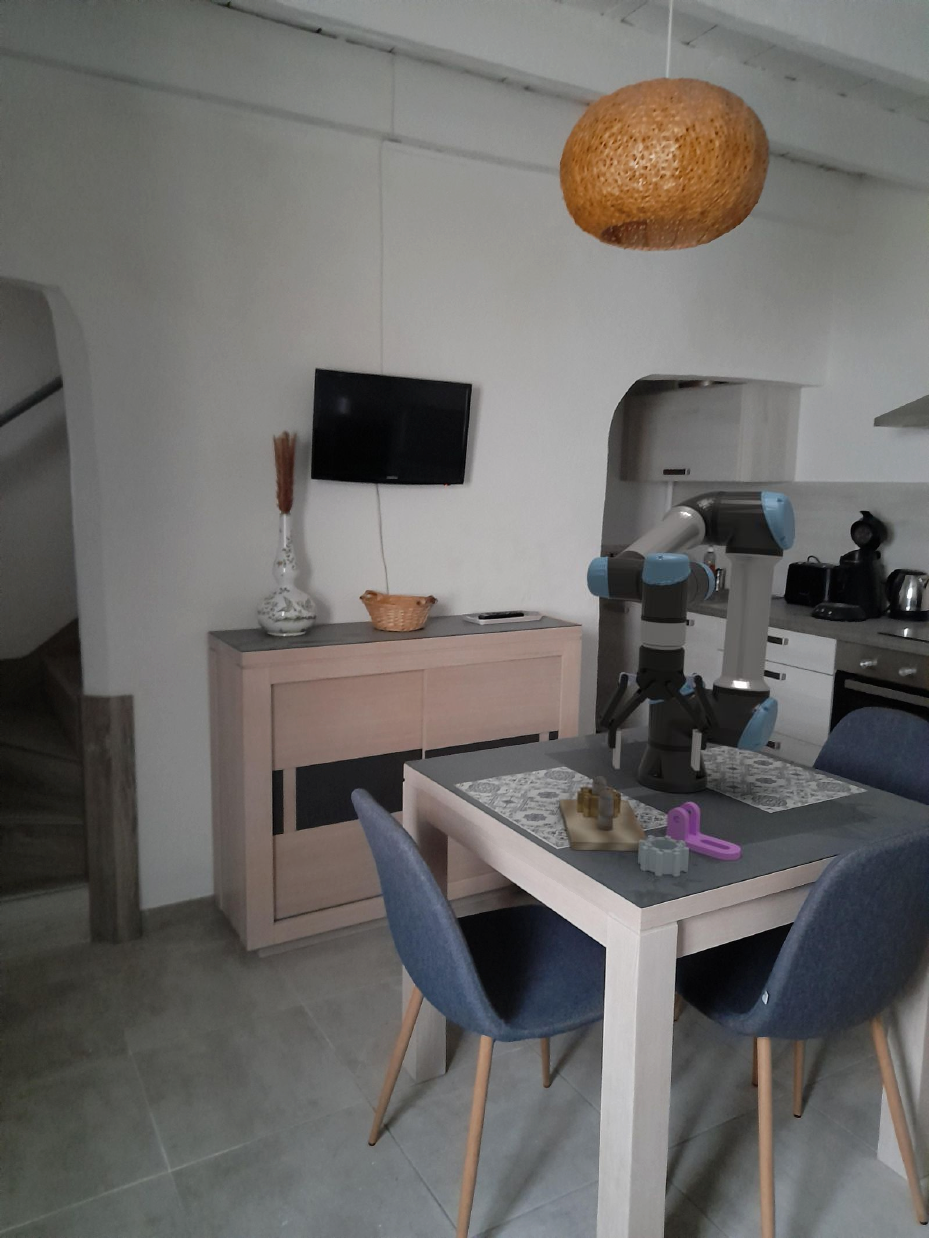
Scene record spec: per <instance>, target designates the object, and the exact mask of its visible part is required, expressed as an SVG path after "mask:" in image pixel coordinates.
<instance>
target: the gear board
mask: <svg viewBox="0 0 929 1238" xmlns="http://www.w3.org/2000/svg"><path fill="white" fill-rule="evenodd" d="M591 785H592V786H591V787H586V786H582V787H580V790H578V791H577V794H576V795H577V798H576V799H572V798H571V799H570V798H569V799H568V798H566V799H565V798H563V799H562V798H561V799H560V798H559V801H558V802H559V803H558V807H559V810H560V815H561V817H562V818H561V819H562V822H563V823H564V828H565V831H566V835H567V838H568V841H569V845H570V848H571V850H572V851H574V850H575V851H622V852H623V851H624V852H625V851H627V852H629V851H630V852H638V851H639V840H640V839H641V840H647V835H646V834H645V831H644V829H643V828H642V825H641V823H640V822H639V820H638V818H637V816H636V814H635V812H634V809H633V808H632V805H631V804H630V802H629V800H625V799H624V800H623V799H622V793H621V792H620V791H615V788H614V787H610V786H609V787H608V783H607V779H606V778H605V777H604V776H602V775H598V776H596V777H594V778H593V780H592V784H591Z"/></svg>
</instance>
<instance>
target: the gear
mask: <svg viewBox="0 0 929 1238" xmlns="http://www.w3.org/2000/svg"><path fill="white" fill-rule="evenodd" d="M646 837H647V840H641V839H640V840H639V851H637V853H638V854H637V855H638V857H637V864H638V865H639V864H640V870H641V871H642V872H646V871H649V872H652V873H654V876H656V877H662V876H663V875H671V876H673V877H675V878H676V877H681V872H686V873H687V872H688V871H689V858H690V857H689V855H690V853H689V852H690V850H689V847H686V842H685V841H683V840H680V841H677V840H674V839H671V836H666V834H665V835H664V836H663V837H661V836H654V835H646Z"/></svg>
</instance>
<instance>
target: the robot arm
mask: <svg viewBox="0 0 929 1238" xmlns="http://www.w3.org/2000/svg"><path fill="white" fill-rule="evenodd" d="M795 519H796V518H795V513H794V508H793V505H792V503H791V500H790V498H789V497H788V496H787V495H786V494H784V493H781V492H773V491H767V490H765V491H726V490H725V491H723V490H713V491H708V492H703V493H700V494H697V495H695V496H692V497H689V498H687V499H686V500H683V501H682V502H679V503H678V504H676V505H675V506H673V507H671V508H670V509H669V510H668V511H667V512H665V514H664V515H663V517H662V520H661V522H660V523H658V524H657V525H656V526H654V527H652V529H650V530H649V531H648V532H647V533H645V534H644V535H642V536H641V537H640V538H639V539H638V540H635V542H634V543H632V544H631V545H629V546H628V547H627V548H626V549H624V550H623V551H622V552H620V553H619V554H618V555H616V556H615V557H610V556H605V557H603V556H602V557H601V556H599V557H595V558H593V559H592V560H591V562H590V563H589V565H588V569H587V572H586V583H587V584H586V585H587V589H588V590H589V592H590V594H591V595H593V596H595V597H597V598H598V597H600V598H607V599H608V600H611V599H612V600H613V599H614V600H623V601H624V600H625V601H634V602H635V601H636V602H637V601H638V602H641V612H640V613H641V614H640V630H639V642H640V643H641V645H640V646H639V649H638V650H639V651H638V662H637V663H638V666H637V667H638V668H637V672H636V673H635V674H632V673H626V672H625V671H624V670H621V671H620V672H619V674H618V679H617V684H616V685H615V687H614V688H613V690H612V693H611V695H610V696H609V698H608V700H607V701H606V704H605V705H604V707H603V709H602V710H601V713H600V714H599V716H598V718H597V723H598V724H599V726H600V727H602V728H606V729H607V742H606V743H607V746H608V748H609V749H612V764H611V765H612V766H613V768H614V769H615V770H620V769H621V767H620V764H621V747H622V745H621V744H622V742H621V741H622V731H621V729H620V726H622V724H623V723H624V722H625V721H626V720H627V719H628V718H629V717H630V716H631V715H632V714H633V713H634V711H635V710H636V709H637V708H638V707H639V706H640V705H641V704H642V703H644V702H645V701H646V700H647V699H648V700H649V701H648V725H647V727H648V728H647V746H646V749H645V751H644V754H643V756H642V759H641V761H640V764H639V767H638V770H637V771H638V772H637V780H638V782H639V783H640V784H642V785H643V786H645V787H647V788H650V789H653V790H656V791H661V792H669V793H675V794H676V793H679V794H681V793H682V794H686V793H695V792H699V791H703V790H705V789H706V788H707V786H708V780H709V779H708V776H709V775H708V772H707V771H708V770H707V769H706V763H705V760H704V757H703V754H702V753H703V752H702V751H706V749H707V744H711V745H717V746H722V747H728V748H733V749H737V750H738V751H743V750H744V751H753V752H757V751H761V750H762V749H764V748H765V747H766V746H767V745H768V743H769V741H770V739H771V737H772V735H773V732H774V729H775V726H776V723H777V717H778V712H779V711H778V710H779V708H778V704H779V703H778V702H779V701H778V700H777V699H776V698H775V697H773V696H771V688H770V686H769V684H768V683H767V682H766V681H765V679H764V678H765V666H766V659H767V657H766V655H767V646H768V636H769V625H770V615H771V607H772V606H771V605H772V603H771V602H772V597H773V596H772V594H773V585H774V583H773V582H774V576H775V575H774V573H775V566H776V565H777V564H778V563H779V562H780V561H782V560H783V558H784V551H788V550H790V549H792V548H793V546H794V544H795V543H794V542H795V541H794V539H796V538H795V535H796V520H795ZM698 546H718V547H725V550H724V551H725V552H724V553H725V554H724V555H725V557H726V558H727V559H728V560H729V561H730V563H731V567H730V578H729V590H728V598H727V600H728V601H727V609H726V610H727V611H726V619H725V620H726V622H725V630H724V632H725V633H724V643H723V655H722V665H721V666H722V667H721V674H720V676H719V677H718V678H716V679H715V680H714V681H713V683H712V688H711V689H710V688H707V685H706V683H705V680H703V676H701V675H700V674H699V673H697V672H694V673H692V674H686V675H685V674H684V673H685V672H684V671H685V670H684V669H685V652H686V649H684V647H683V646H685V645H686V640H687V639H686V636H687V635H686V634H687V620H688V619H687V616H688V606H695V605H697V604H699V605H700V603H702V602H704V601H706V600H707V599H708V598H709V597H711V595H712V594H713V592H714V590H715V586H716V579H715V578H716V577H715V575H714V573H713V570H712V569H711V568H710V567H709V566H708V565H707V564H704V563H703V562H700V561H691V560H690V557H689V556H688V555H686V554H684V552H685V551H688V550H689V551H690V550H693V549H695V548H697V547H698ZM634 682H635V683H636V684H637V686H638V687H639V688H637V690H636V691H634V692H633V695H632V696H631V697H630V698H629V699H628V700H627V701H626V702H625V703H624V704H623V706H622V707H621V708H620V709H619V710H618V711H617V712H616V713H615V714H614V712H615V711H616V709H617V707H618V705H619V704H620V701H621V700H622V698H623V696H624V695H625V693H626V691H627V688H628V687H631V686H632V683H634ZM613 714H614V715H613ZM611 717H612V718H611Z"/></svg>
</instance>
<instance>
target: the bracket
mask: <svg viewBox="0 0 929 1238" xmlns="http://www.w3.org/2000/svg"><path fill="white" fill-rule="evenodd" d="M689 812H690V813H689ZM700 827H701V809H700V807H699V806H698V805H697V804H696V803H695V802H693V801H687V802H684V803H683V804H681V805H680V806H679V807H674V808H673V809H671V810H669V811H668V812H667V816H666V833H665V835H666V836H671V839H674V840H677V841H680V840H683V841H685V842H686V847H689V851H692V852H696V853H698V854H702V855H704V856H705V855H706V856H708V857H710V858H711V857H712V858H713V859H714V858H715V859H717V860H722V861H735V860H738V859H740V858H741V854H742V853H741V850H742V849H741V847H740V846H739V845H737V844H735V843H733V842H729V841H727V840H723V839H720V838H716V837H713V836H710V835H706V834H703V833H701V831H700Z"/></svg>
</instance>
